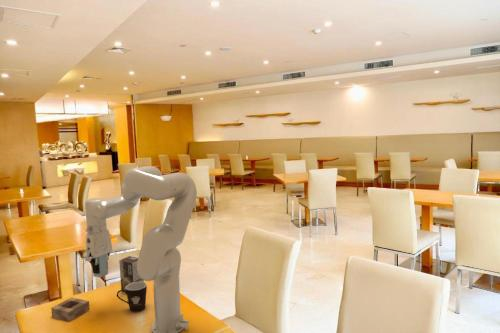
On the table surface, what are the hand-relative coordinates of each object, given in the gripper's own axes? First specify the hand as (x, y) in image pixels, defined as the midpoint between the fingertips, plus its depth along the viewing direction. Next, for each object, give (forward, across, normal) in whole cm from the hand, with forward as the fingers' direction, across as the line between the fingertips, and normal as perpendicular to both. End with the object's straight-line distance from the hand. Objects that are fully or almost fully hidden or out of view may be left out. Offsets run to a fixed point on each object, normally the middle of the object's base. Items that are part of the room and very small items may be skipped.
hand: (100, 270), depth 153 cm
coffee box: (+17, +18, 0) cm, 25 cm away
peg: (+2, 0, 0) cm, 2 cm away
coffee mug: (+18, +6, -11) cm, 22 cm away
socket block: (+17, -7, +11) cm, 21 cm away
